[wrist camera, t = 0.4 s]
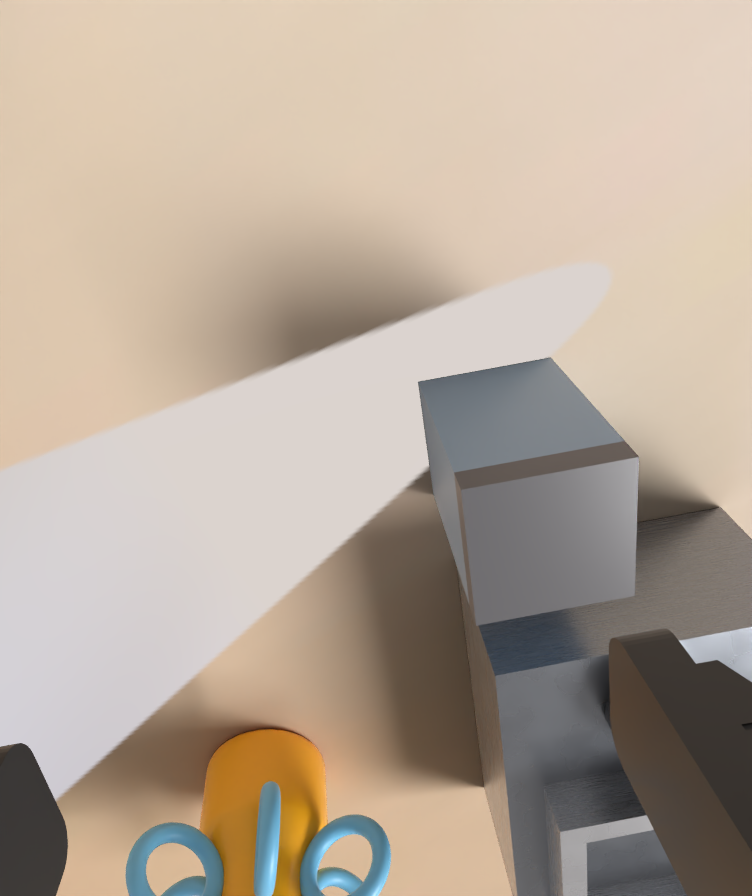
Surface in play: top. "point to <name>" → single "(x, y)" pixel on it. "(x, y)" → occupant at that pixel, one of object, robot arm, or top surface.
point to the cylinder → (264, 826)
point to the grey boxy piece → (597, 710)
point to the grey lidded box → (530, 490)
